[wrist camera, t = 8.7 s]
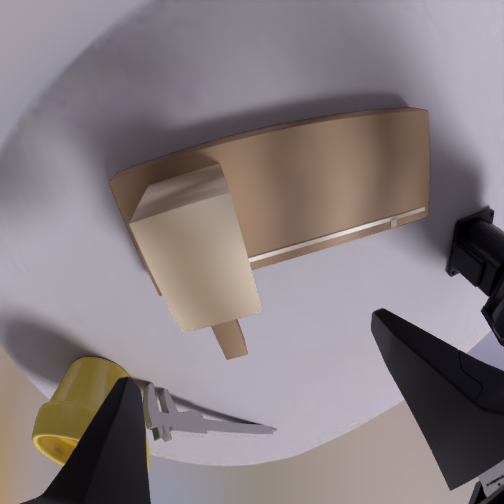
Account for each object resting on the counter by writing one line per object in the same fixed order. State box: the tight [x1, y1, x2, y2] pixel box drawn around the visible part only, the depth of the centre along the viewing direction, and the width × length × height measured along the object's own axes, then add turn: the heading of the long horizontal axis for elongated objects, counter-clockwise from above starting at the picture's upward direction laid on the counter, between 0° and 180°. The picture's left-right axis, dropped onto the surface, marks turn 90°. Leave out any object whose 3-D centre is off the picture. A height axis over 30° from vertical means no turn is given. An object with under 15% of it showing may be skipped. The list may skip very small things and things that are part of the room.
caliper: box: [143, 383, 277, 442], centre depth 28 cm, size 20×1×6 cm, turn 42°
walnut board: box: [109, 107, 430, 296], centre depth 17 cm, size 20×8×2 cm, turn 102°
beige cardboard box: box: [129, 163, 263, 360], centre depth 15 cm, size 4×9×5 cm, turn 13°
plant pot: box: [32, 357, 150, 472], centre depth 20 cm, size 10×10×10 cm
